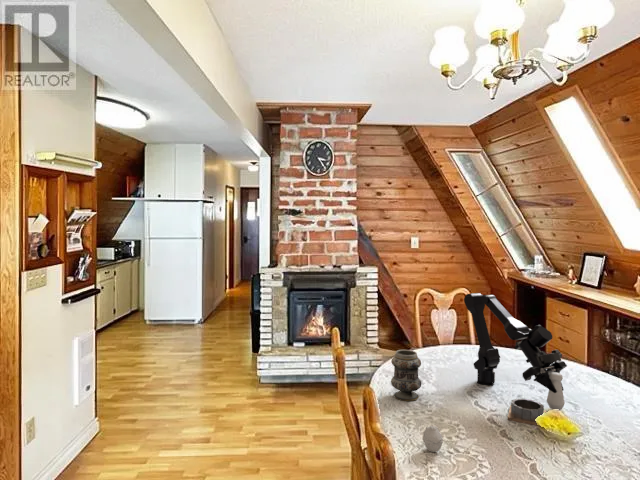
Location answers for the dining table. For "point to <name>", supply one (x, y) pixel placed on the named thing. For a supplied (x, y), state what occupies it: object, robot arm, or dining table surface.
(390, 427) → the dining table surface
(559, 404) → the salt shaker
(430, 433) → the grey cracked egg
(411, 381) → the apothecary jar
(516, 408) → the cup holder
